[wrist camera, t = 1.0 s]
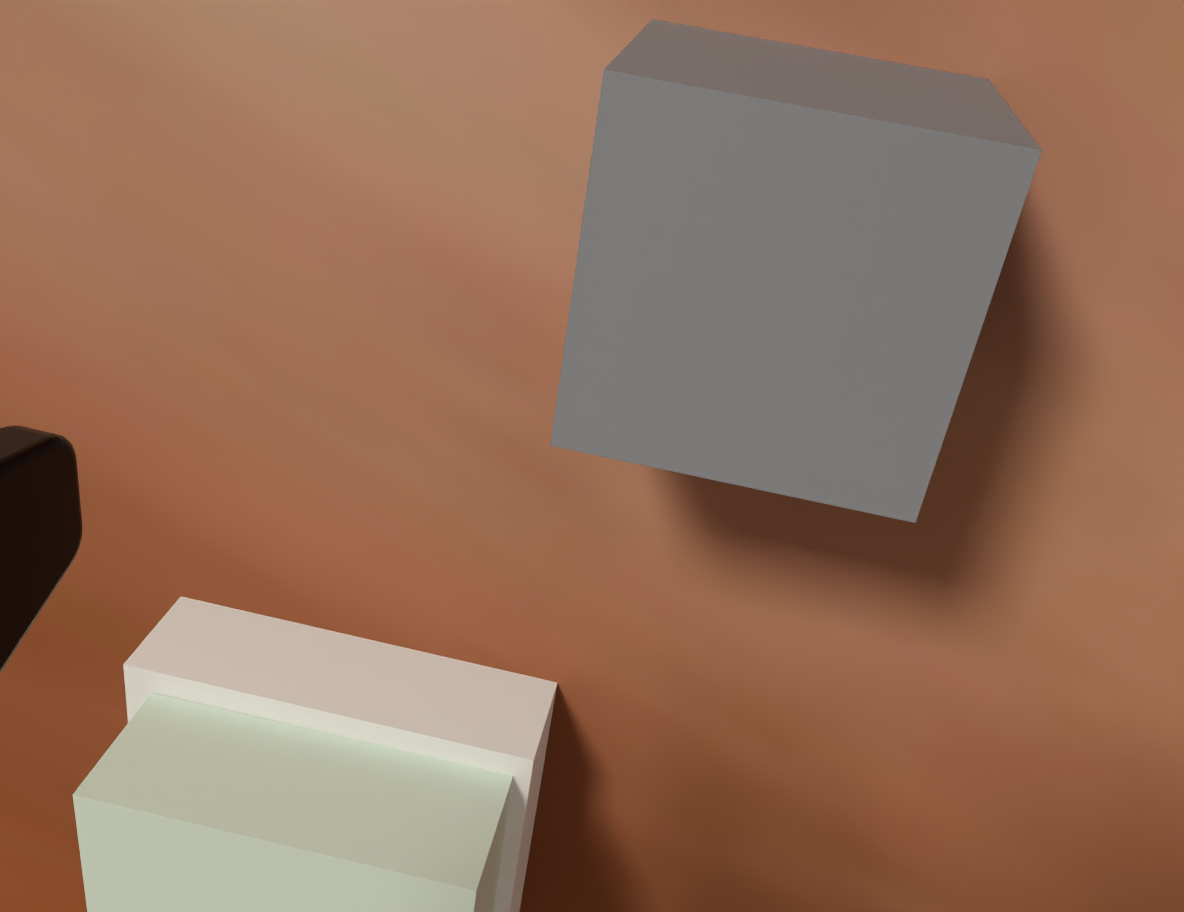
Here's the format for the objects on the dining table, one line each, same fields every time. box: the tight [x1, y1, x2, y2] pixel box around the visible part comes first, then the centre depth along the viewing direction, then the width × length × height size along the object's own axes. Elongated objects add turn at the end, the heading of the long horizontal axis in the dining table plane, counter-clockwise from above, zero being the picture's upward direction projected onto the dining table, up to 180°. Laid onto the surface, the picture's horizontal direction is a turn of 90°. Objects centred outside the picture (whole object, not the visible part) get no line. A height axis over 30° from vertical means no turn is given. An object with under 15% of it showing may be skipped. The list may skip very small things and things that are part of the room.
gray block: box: [550, 19, 1042, 523], centre depth 18 cm, size 6×6×5 cm
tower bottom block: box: [123, 597, 557, 912], centre depth 27 cm, size 9×9×3 cm
